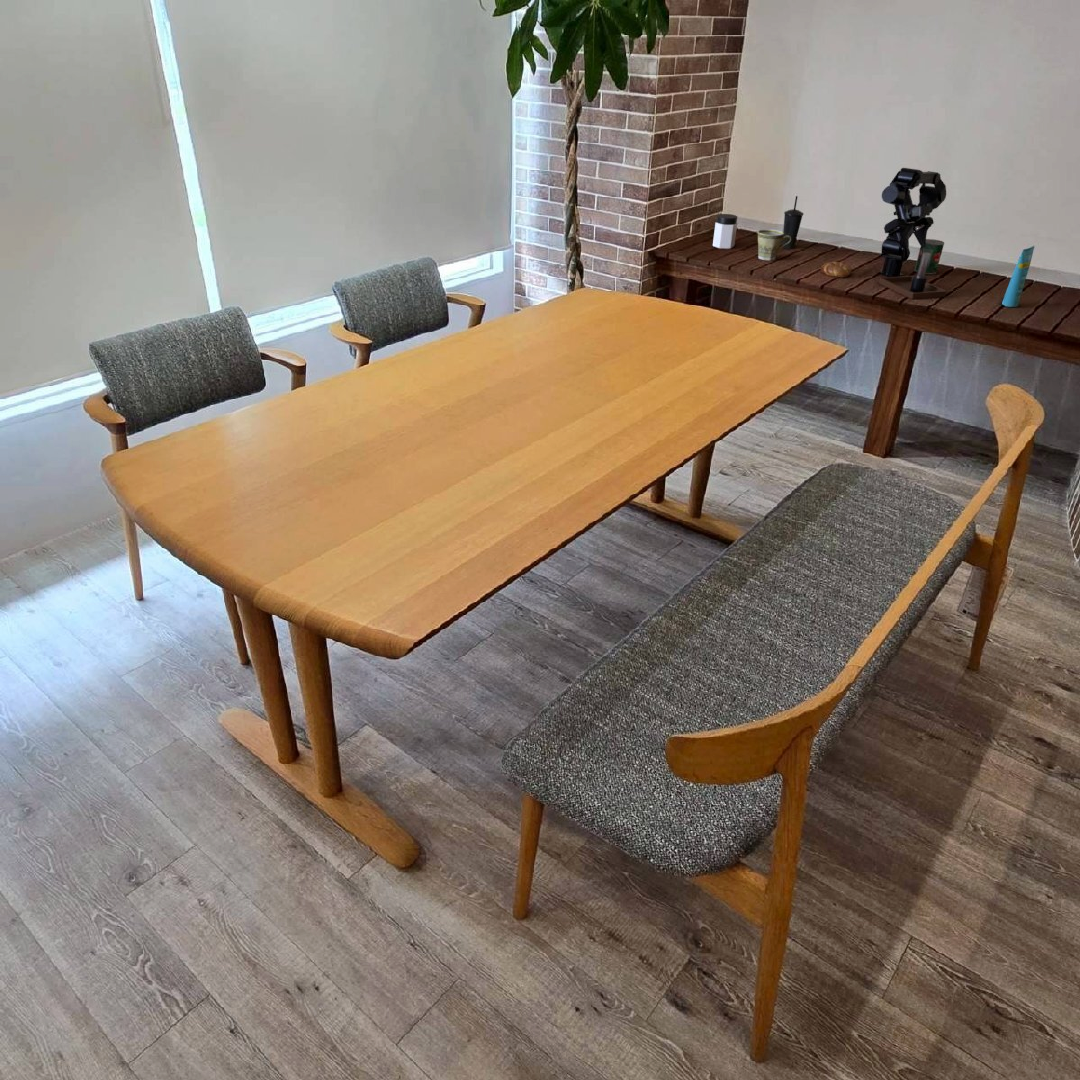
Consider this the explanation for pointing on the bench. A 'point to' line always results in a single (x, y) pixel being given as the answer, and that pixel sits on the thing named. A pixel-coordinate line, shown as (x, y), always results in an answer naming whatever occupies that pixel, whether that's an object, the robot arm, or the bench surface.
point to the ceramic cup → (769, 243)
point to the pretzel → (836, 269)
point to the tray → (904, 286)
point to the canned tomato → (935, 250)
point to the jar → (725, 231)
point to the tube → (1018, 278)
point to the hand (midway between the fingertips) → (914, 248)
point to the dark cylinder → (920, 274)
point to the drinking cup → (791, 226)
